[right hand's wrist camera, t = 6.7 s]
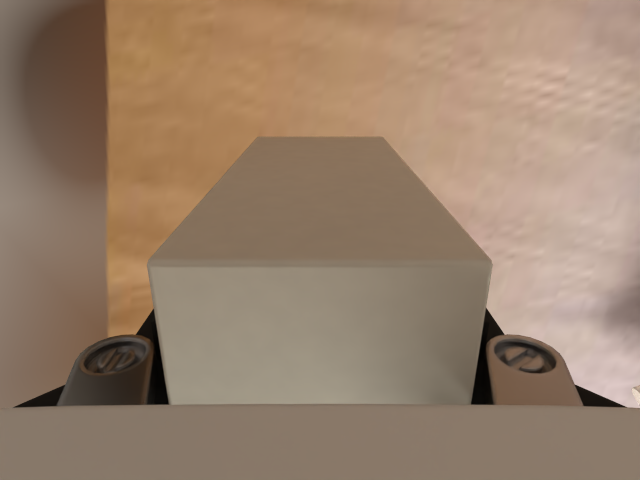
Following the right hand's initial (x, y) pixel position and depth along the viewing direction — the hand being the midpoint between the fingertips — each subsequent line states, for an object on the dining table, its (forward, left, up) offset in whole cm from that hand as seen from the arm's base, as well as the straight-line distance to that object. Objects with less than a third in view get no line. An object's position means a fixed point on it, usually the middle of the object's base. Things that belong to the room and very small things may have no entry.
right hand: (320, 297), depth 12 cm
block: (0, 0, -6) cm, 6 cm away
